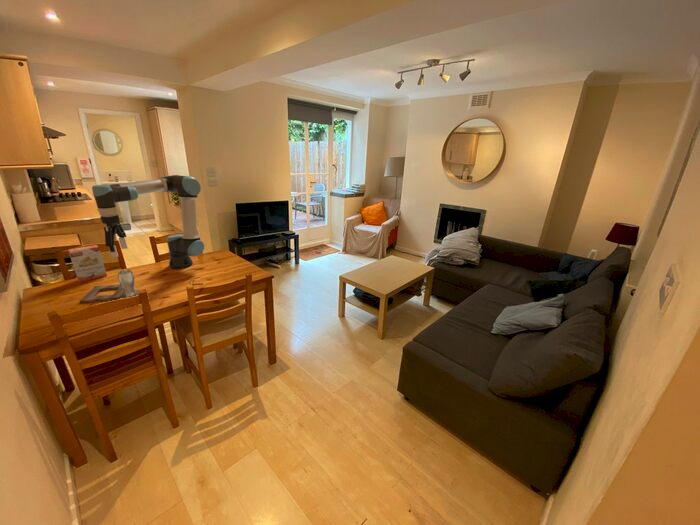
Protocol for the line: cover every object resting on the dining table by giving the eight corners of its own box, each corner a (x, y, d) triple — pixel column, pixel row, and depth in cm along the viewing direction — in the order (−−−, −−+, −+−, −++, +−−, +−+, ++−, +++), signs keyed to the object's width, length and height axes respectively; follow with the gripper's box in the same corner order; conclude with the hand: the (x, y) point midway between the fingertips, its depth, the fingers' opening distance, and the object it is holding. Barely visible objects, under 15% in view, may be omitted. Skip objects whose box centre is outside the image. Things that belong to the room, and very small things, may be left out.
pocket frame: (130, 285, 179) (129, 283, 178) (118, 299, 163) (118, 297, 162) (95, 288, 173) (94, 286, 173) (80, 303, 157) (79, 300, 157)
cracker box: (79, 282, 179) (68, 251, 171) (77, 279, 182) (67, 249, 174) (107, 276, 189) (98, 246, 181) (105, 273, 192) (96, 244, 184)
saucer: (146, 290, 174) (146, 289, 174) (139, 299, 164) (139, 298, 163) (122, 292, 170) (122, 291, 170) (114, 302, 160) (114, 301, 160)
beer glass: (135, 291, 171) (129, 268, 166) (139, 295, 167) (133, 271, 162) (121, 295, 166) (115, 271, 161) (125, 299, 162) (118, 275, 157)
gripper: (110, 210, 160) (120, 245, 168) (89, 221, 138) (102, 261, 146) (126, 209, 162) (135, 244, 170) (107, 220, 140) (119, 260, 148)
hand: (120, 252), depth 158 cm, fingers open, 13 cm apart
